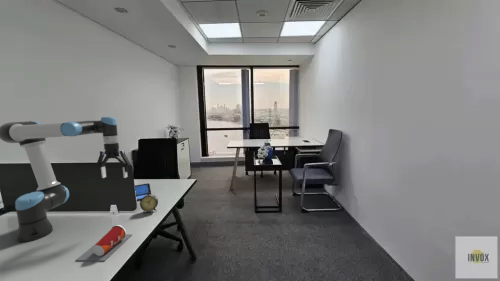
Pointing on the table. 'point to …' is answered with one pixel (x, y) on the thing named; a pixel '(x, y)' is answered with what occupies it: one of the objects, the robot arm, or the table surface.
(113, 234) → the coffee cup
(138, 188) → the handheld game console
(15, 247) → the table surface
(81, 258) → the mat
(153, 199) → the alarm clock
